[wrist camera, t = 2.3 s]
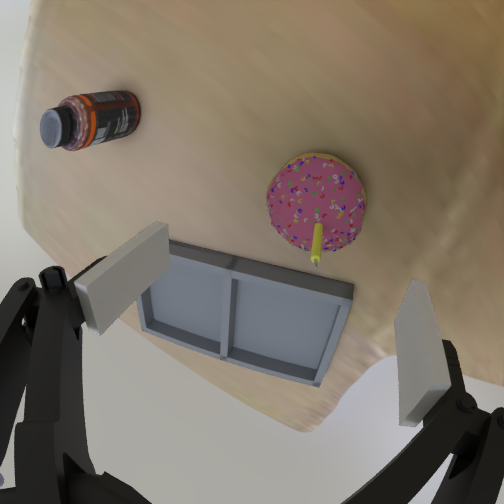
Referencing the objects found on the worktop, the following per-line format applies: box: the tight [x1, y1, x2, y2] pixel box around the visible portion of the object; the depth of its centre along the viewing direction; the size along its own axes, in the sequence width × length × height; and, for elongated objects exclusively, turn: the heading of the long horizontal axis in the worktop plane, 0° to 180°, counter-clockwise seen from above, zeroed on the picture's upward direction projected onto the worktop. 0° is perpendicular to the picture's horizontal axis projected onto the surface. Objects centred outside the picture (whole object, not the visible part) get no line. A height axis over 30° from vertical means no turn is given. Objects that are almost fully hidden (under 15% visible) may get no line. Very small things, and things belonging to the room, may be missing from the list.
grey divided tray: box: [136, 240, 354, 387], centre depth 38 cm, size 27×15×3 cm, turn 85°
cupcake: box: [267, 152, 367, 270], centre depth 24 cm, size 9×8×12 cm
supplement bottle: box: [40, 91, 139, 151], centre depth 27 cm, size 6×6×11 cm
